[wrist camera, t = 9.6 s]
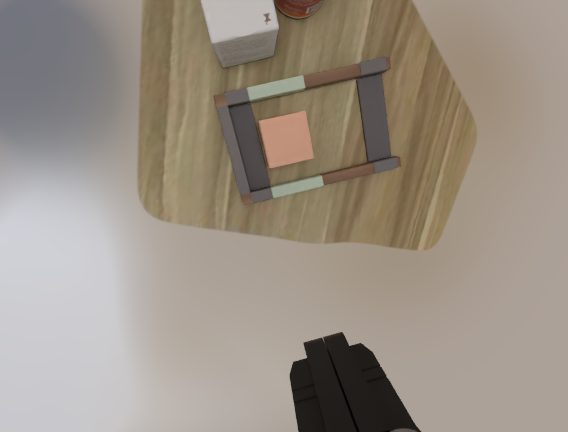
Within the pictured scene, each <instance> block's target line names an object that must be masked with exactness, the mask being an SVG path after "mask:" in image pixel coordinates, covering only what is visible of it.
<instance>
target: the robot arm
mask: <svg viewBox="0 0 568 432" xmlns="http://www.w3.org/2000/svg"><path fill="white" fill-rule="evenodd" d="M323 338H324V341H323V339H322V338H319V339H315V340H311V341H308V342H305V343H304V347H305V351H306V355H307V358H306V359H302V360H299V361H295V362H293V365H292V368H291V372H290V381H291V388H292V393H293V400H294V406H295V413H296V419H297V424H298V431H299V432H421V431H420V430H419V429H418V427H416V425H415V423H414V422H413V420H412V419H411V417H410V415H409V413H408V412H407V410H406V408H405V407H404V405H403V403H402V401H401V400H400V398H399V396H398V395H397V393H396V391H395V390H394V388H393V386H392V385H391V383H390V381H389V380H388V378H387V377H386V374H385V373H384V371H383V369H382V367H380V364H379V362H378V361H377V359H376V357H375V356H374V354H373V352H372V351H370V350H369V349H368V348H366V347H365V346H364V345H363V344H361V343H359V344H356V345H352V346H349V345H348V342H347V340H346V338H345V336H344V334H343V333H342V332H340V333H336V334H333V335H329V336H326V337H323Z"/></svg>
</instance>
